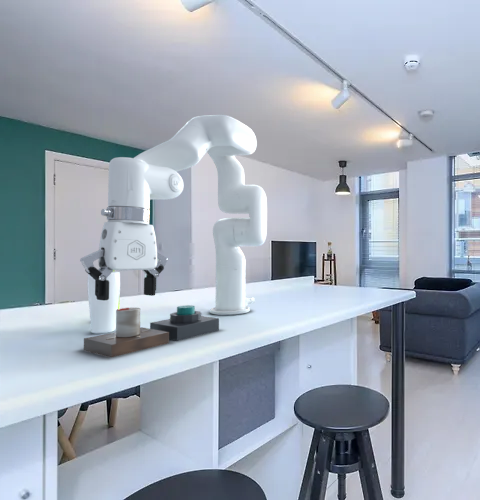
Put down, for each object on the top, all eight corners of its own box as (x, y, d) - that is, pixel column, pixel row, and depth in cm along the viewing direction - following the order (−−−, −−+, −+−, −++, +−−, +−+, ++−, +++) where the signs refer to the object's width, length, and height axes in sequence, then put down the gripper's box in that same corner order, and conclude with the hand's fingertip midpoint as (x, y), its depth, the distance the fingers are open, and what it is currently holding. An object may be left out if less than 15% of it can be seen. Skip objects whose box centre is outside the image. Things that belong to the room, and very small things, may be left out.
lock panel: (141, 337, 82) (141, 326, 82) (169, 343, 77) (169, 331, 77) (83, 350, 71) (83, 337, 71) (111, 357, 67) (111, 344, 67)
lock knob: (132, 331, 77) (132, 305, 77) (144, 333, 75) (144, 307, 75) (111, 335, 73) (111, 308, 73) (123, 338, 71) (123, 310, 71)
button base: (192, 326, 94) (192, 308, 94) (219, 330, 90) (219, 311, 90) (149, 335, 84) (150, 315, 84) (177, 341, 79) (177, 319, 79)
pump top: (187, 312, 89) (187, 304, 89) (198, 314, 88) (198, 306, 88) (173, 315, 86) (173, 307, 86) (184, 316, 84) (184, 308, 84)
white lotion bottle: (94, 336, 83) (95, 273, 83) (81, 332, 86) (82, 272, 86) (125, 330, 89) (125, 272, 89) (112, 327, 92) (112, 271, 92)
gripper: (93, 211, 65) (91, 303, 65) (177, 220, 80) (175, 294, 80) (72, 213, 68) (70, 300, 68) (156, 221, 84) (155, 292, 83)
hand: (127, 297), depth 74 cm, fingers open, 9 cm apart
